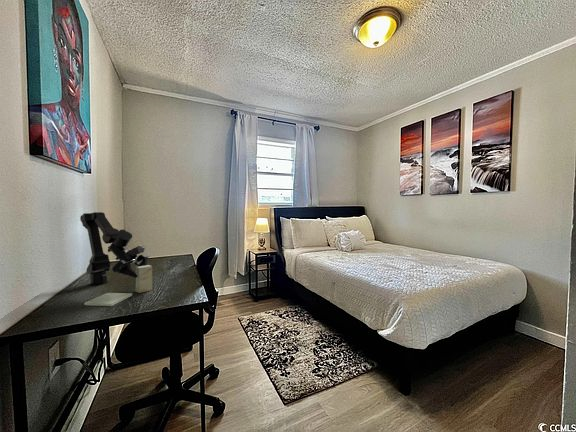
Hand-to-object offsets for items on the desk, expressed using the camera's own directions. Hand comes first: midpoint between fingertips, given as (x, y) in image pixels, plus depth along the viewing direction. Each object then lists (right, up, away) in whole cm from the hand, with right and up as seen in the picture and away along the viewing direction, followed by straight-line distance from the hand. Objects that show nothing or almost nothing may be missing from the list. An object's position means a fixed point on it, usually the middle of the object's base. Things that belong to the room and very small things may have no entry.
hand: (143, 274), depth 118 cm
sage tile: (-8, -8, -12) cm, 17 cm away
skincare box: (0, -8, 0) cm, 8 cm away
